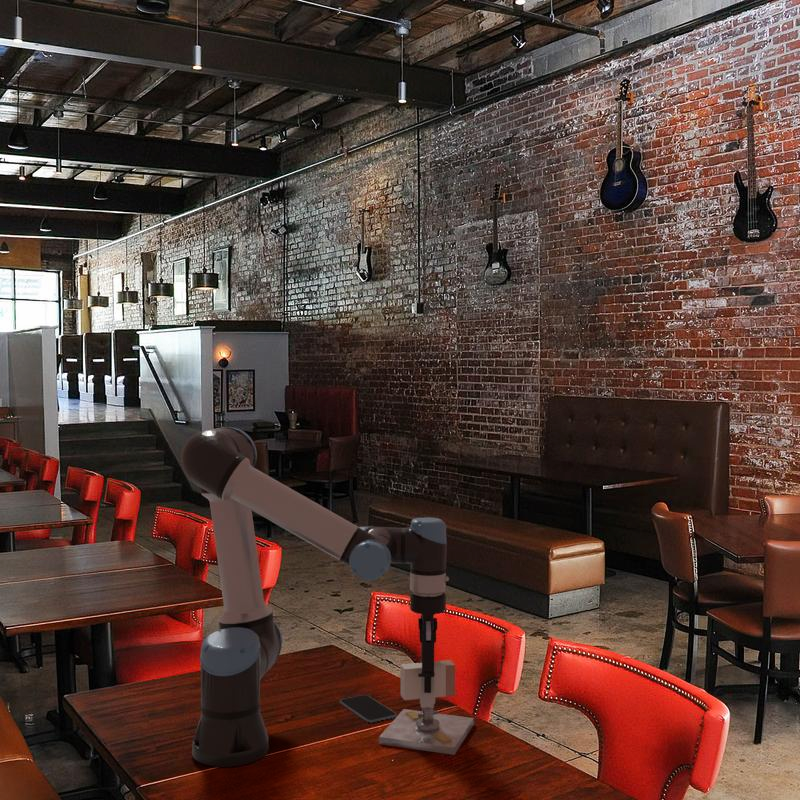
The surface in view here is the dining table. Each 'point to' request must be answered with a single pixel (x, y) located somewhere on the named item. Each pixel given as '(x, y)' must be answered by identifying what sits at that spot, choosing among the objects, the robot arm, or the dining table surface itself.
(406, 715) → the socket
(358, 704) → the smartphone
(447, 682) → the grey rectangular block
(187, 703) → the dining table surface
